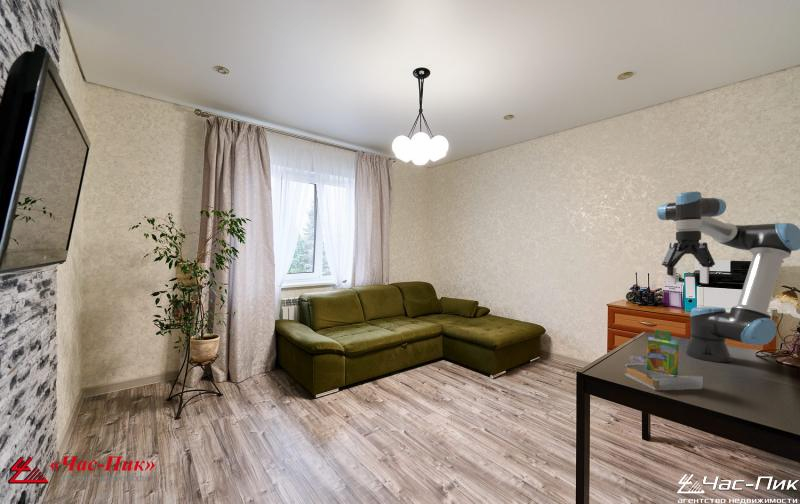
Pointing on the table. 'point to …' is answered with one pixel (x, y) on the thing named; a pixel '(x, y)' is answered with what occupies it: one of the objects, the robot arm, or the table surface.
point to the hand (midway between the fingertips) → (688, 283)
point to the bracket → (662, 378)
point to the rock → (638, 359)
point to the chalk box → (662, 353)
